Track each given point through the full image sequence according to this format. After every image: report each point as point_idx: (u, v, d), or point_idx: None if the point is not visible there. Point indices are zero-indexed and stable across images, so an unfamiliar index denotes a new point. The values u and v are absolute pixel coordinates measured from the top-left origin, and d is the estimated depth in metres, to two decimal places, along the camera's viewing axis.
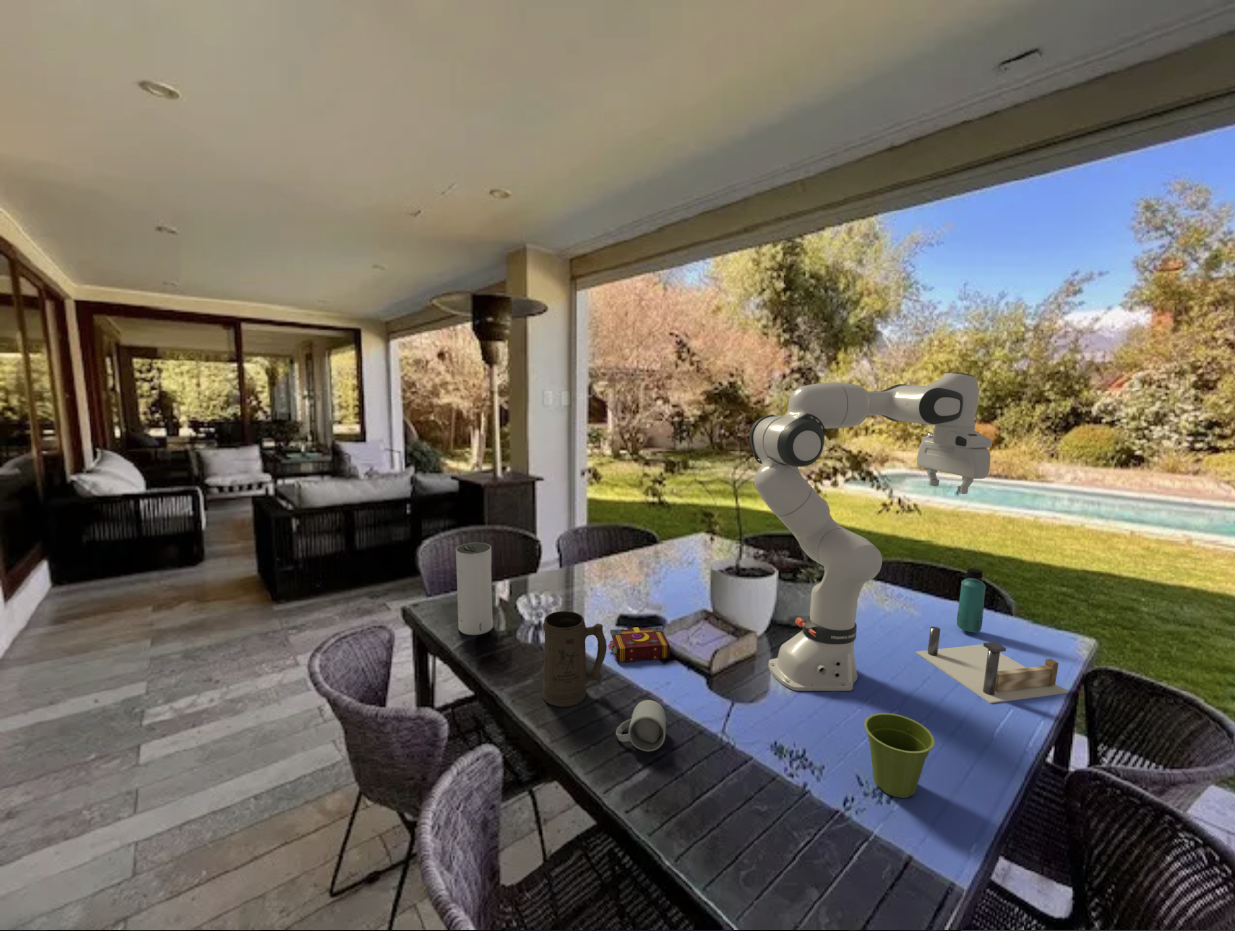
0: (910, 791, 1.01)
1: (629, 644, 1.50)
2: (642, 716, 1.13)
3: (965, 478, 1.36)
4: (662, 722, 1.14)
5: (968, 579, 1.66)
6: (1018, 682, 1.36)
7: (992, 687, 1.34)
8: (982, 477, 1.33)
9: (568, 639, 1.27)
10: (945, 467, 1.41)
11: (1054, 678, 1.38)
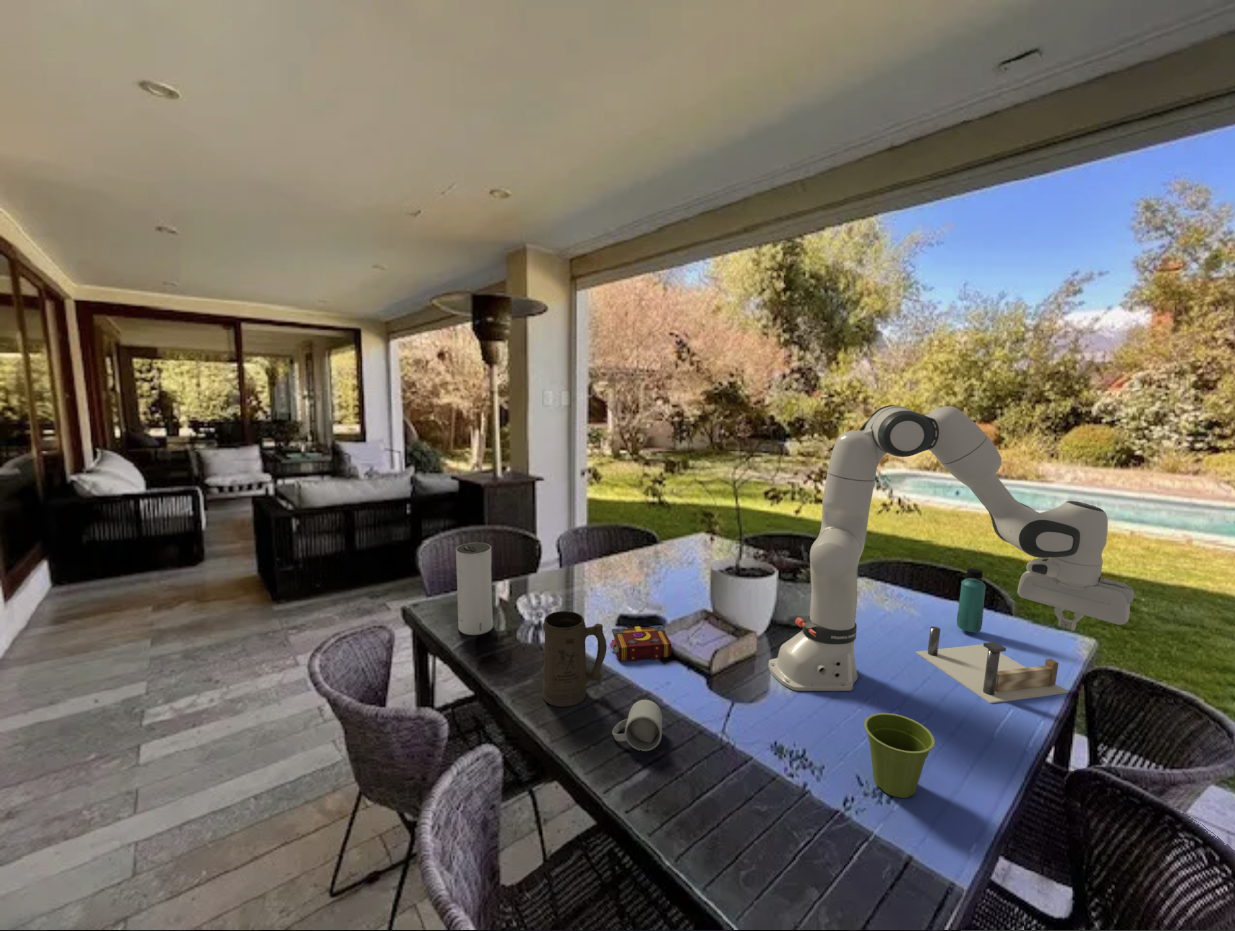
0: (910, 791, 1.01)
1: (631, 643, 1.50)
2: (638, 715, 1.14)
3: None
4: (658, 722, 1.14)
5: (968, 579, 1.66)
6: (1018, 682, 1.36)
7: (992, 687, 1.34)
8: None
9: (567, 639, 1.27)
10: None
11: (1054, 678, 1.38)
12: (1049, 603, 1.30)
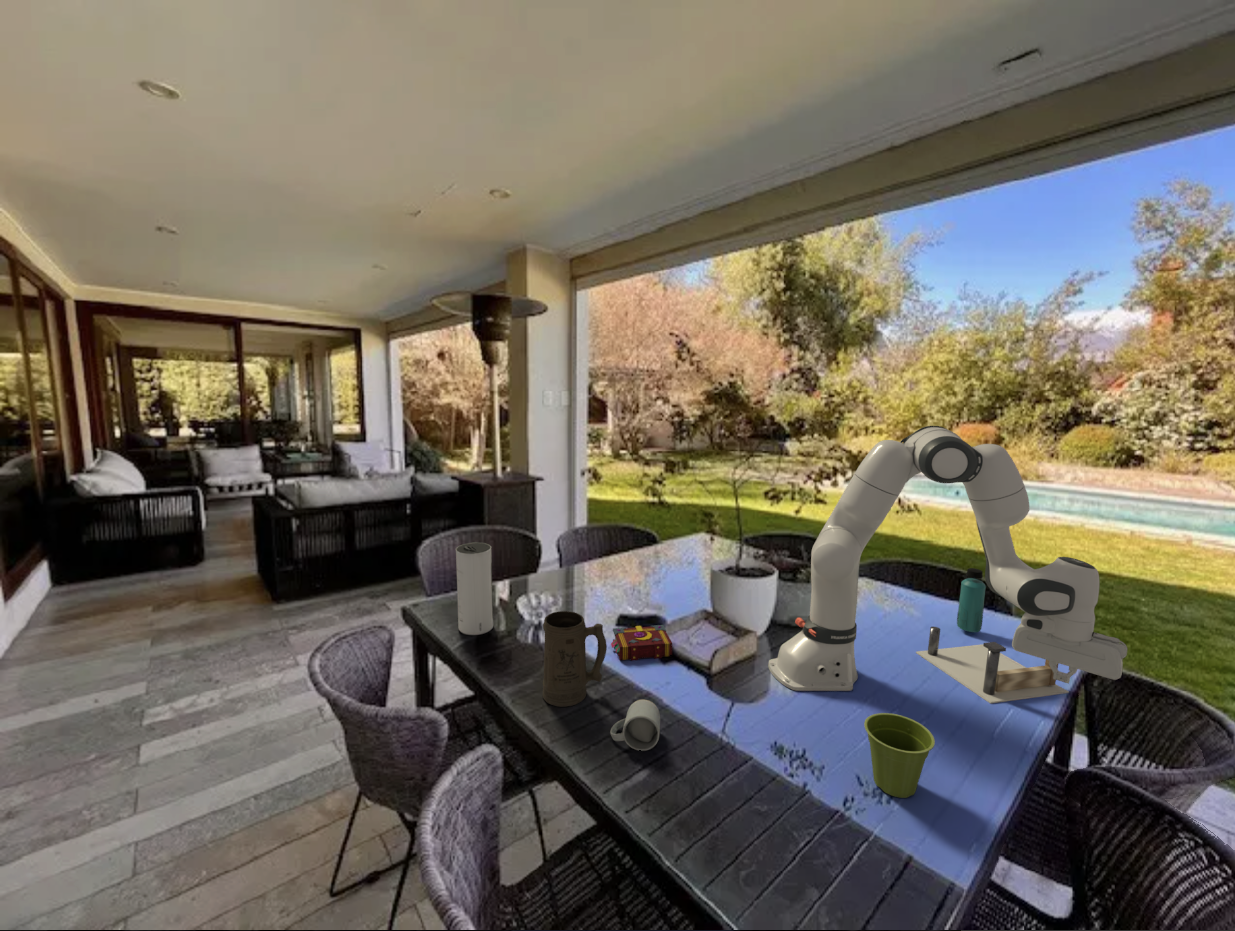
0: (910, 791, 1.01)
1: (632, 642, 1.51)
2: (636, 715, 1.14)
3: None
4: (656, 721, 1.14)
5: (968, 579, 1.66)
6: (1018, 682, 1.36)
7: (992, 687, 1.34)
8: None
9: (567, 639, 1.27)
10: None
11: None
12: (1044, 657, 1.31)
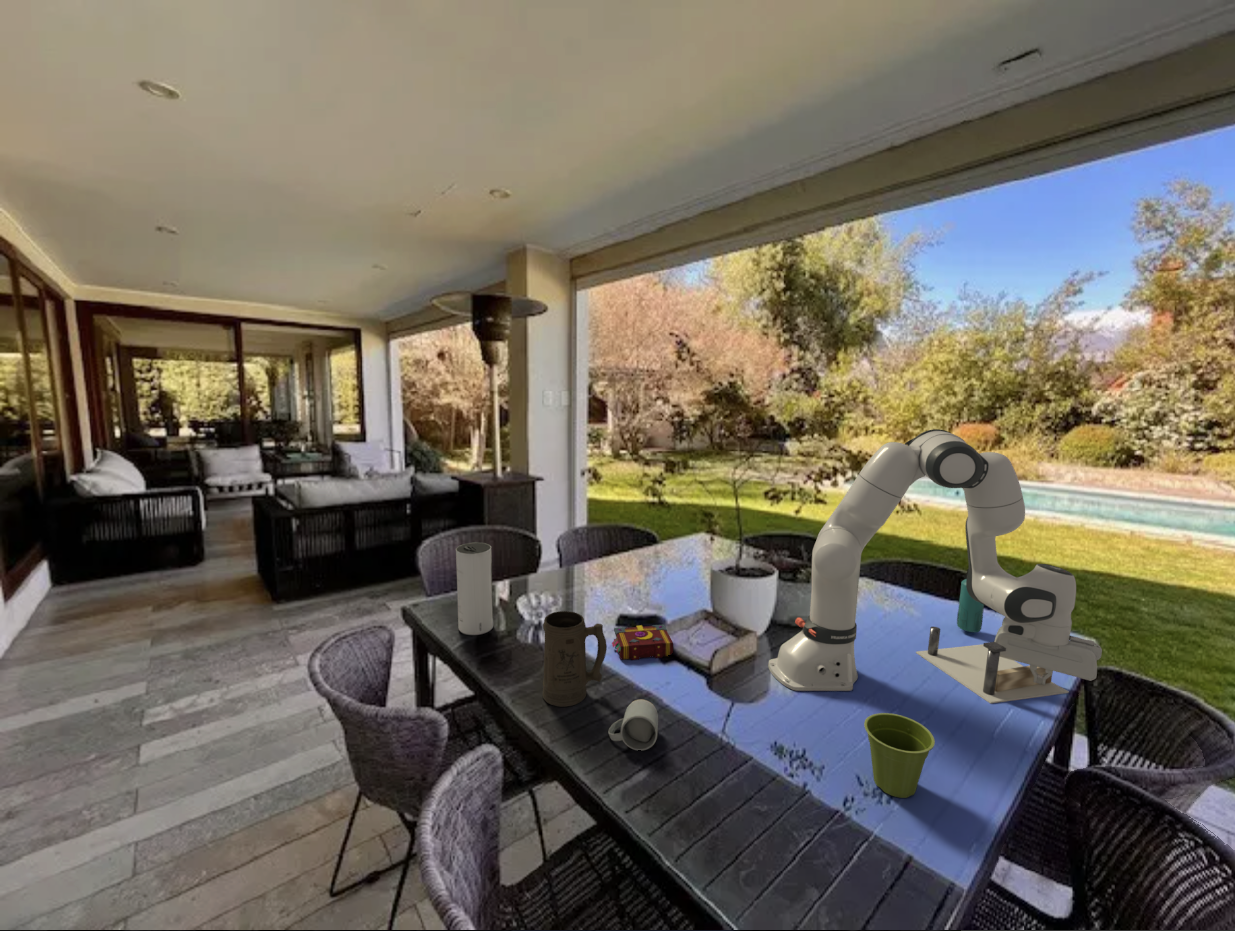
0: (910, 791, 1.01)
1: (633, 642, 1.51)
2: (634, 715, 1.14)
3: None
4: (654, 721, 1.14)
5: None
6: (1017, 681, 1.36)
7: (992, 687, 1.34)
8: None
9: (567, 639, 1.27)
10: None
11: (1050, 676, 1.39)
12: (1024, 661, 1.36)
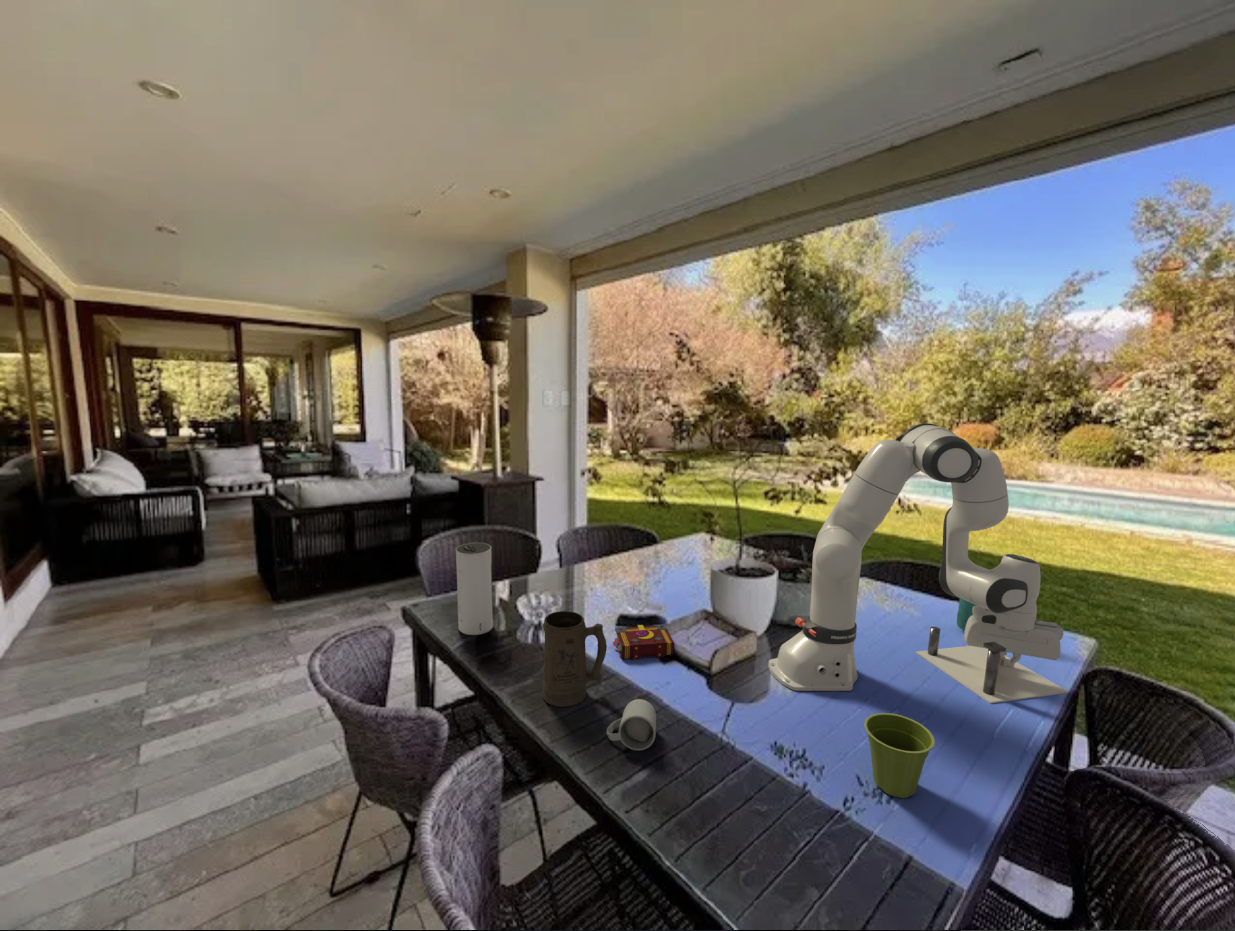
0: (910, 791, 1.01)
1: (634, 641, 1.51)
2: (632, 715, 1.14)
3: None
4: (652, 721, 1.14)
5: None
6: (997, 672, 1.40)
7: (992, 687, 1.34)
8: (966, 641, 1.45)
9: (568, 639, 1.27)
10: None
11: None
12: None
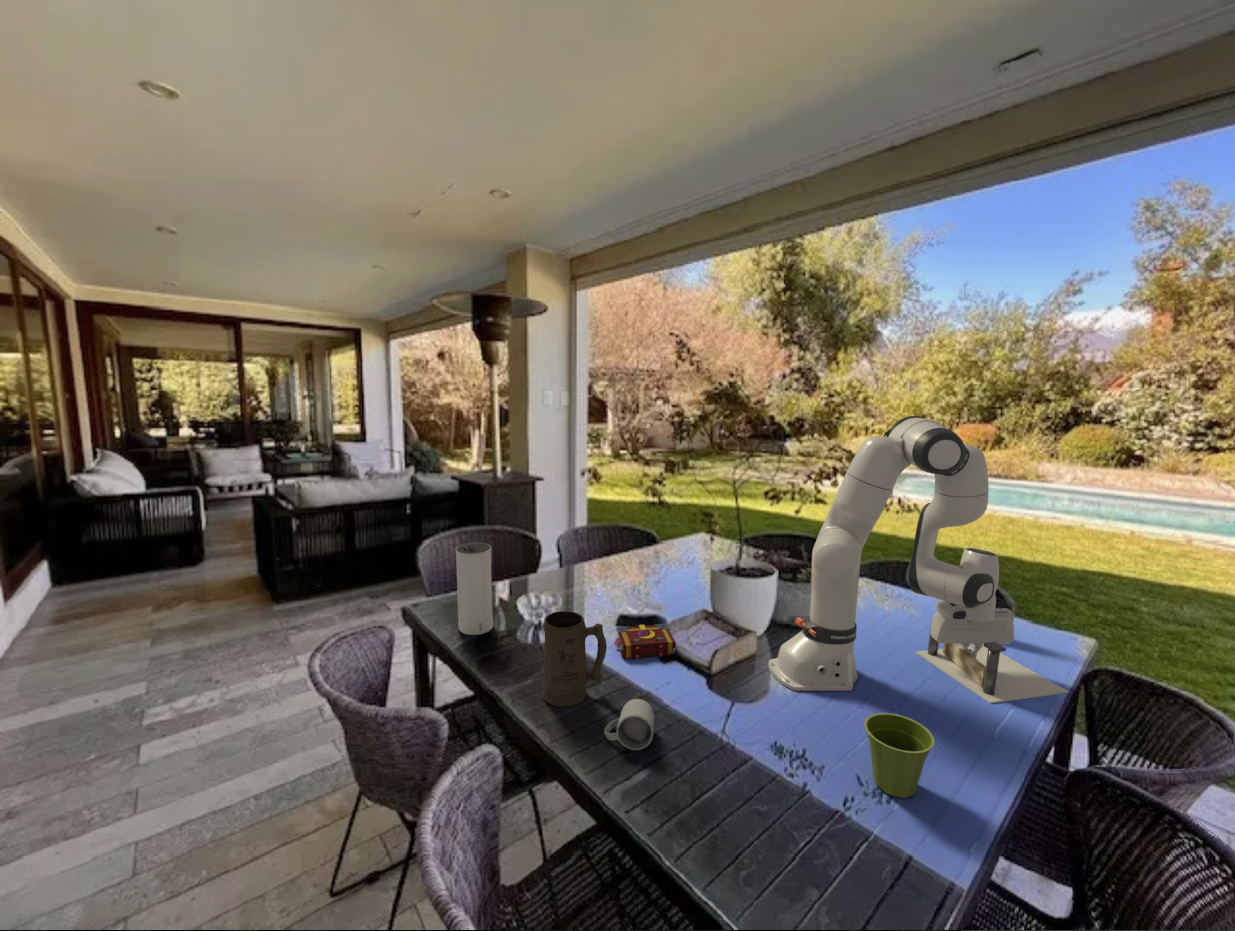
0: (910, 791, 1.01)
1: (635, 641, 1.51)
2: (630, 714, 1.14)
3: None
4: (650, 721, 1.14)
5: None
6: None
7: (992, 687, 1.34)
8: (935, 639, 1.46)
9: (567, 639, 1.27)
10: None
11: None
12: (962, 642, 1.45)
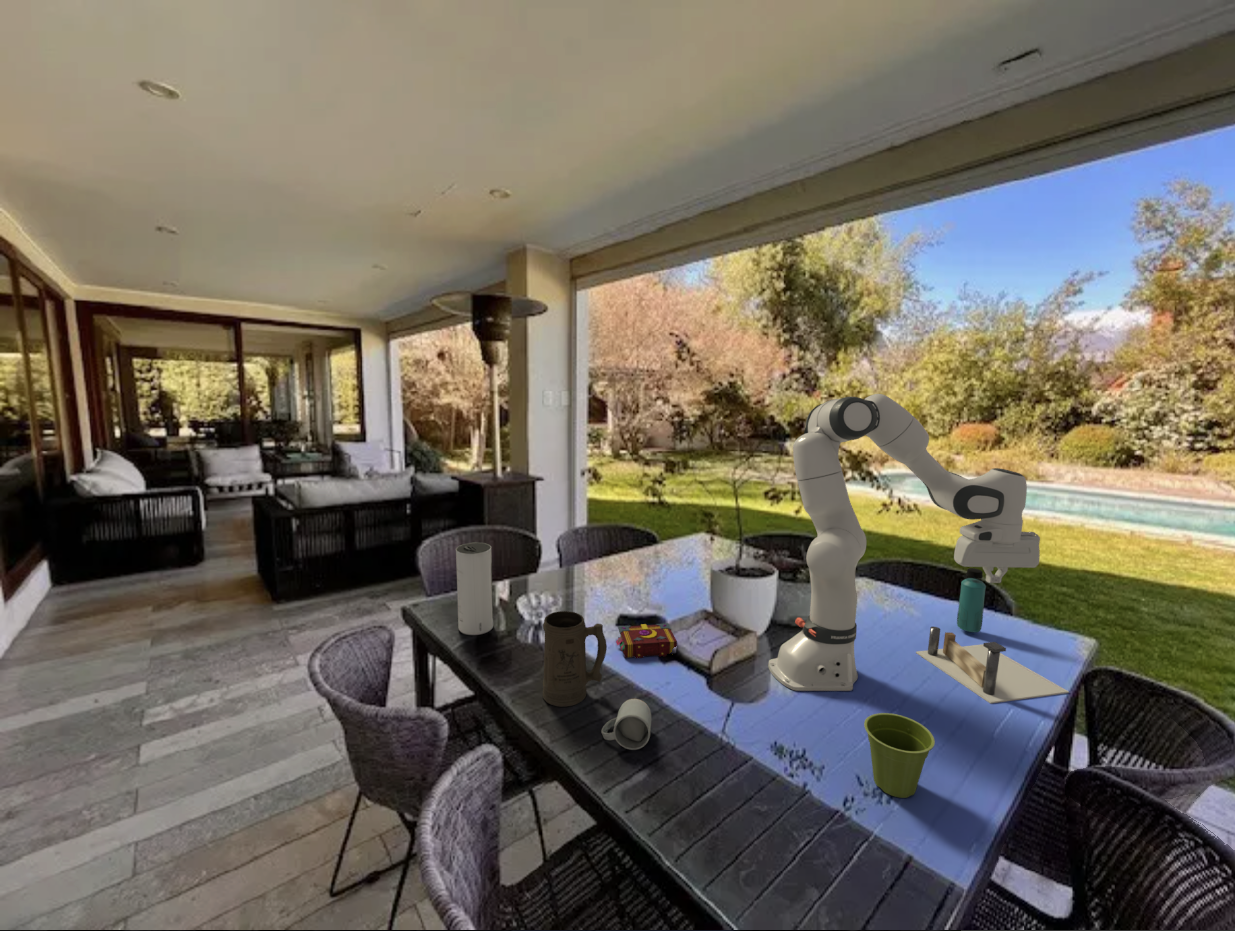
0: (910, 791, 1.01)
1: (637, 640, 1.52)
2: (627, 714, 1.14)
3: None
4: (647, 721, 1.14)
5: (968, 579, 1.66)
6: None
7: (992, 687, 1.34)
8: (959, 563, 1.43)
9: (567, 639, 1.27)
10: None
11: None
12: (987, 565, 1.42)
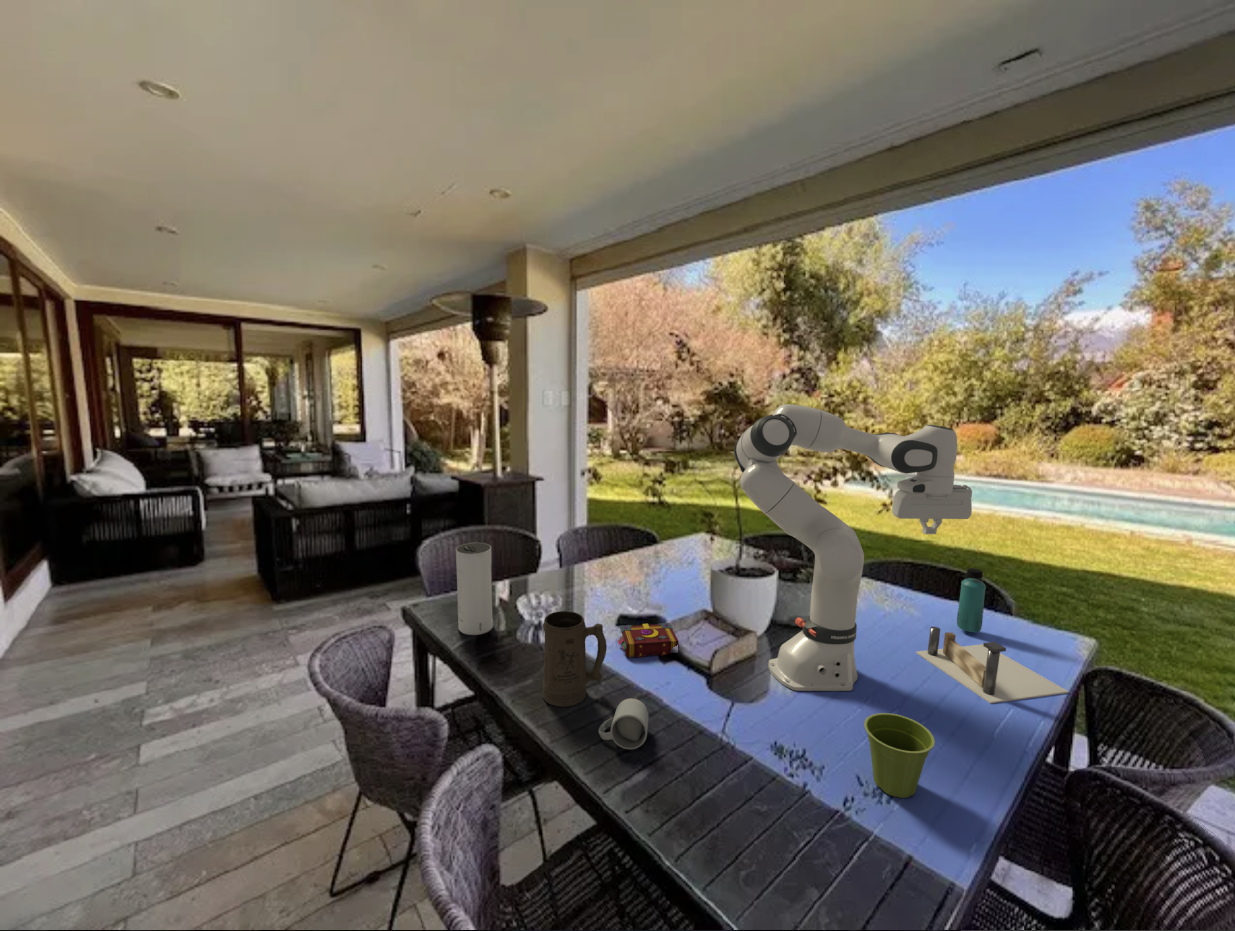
0: (910, 791, 1.01)
1: (638, 640, 1.52)
2: (624, 714, 1.14)
3: None
4: (644, 720, 1.14)
5: (968, 579, 1.66)
6: None
7: (992, 687, 1.34)
8: (896, 516, 1.50)
9: (567, 639, 1.27)
10: None
11: None
12: (922, 517, 1.49)
